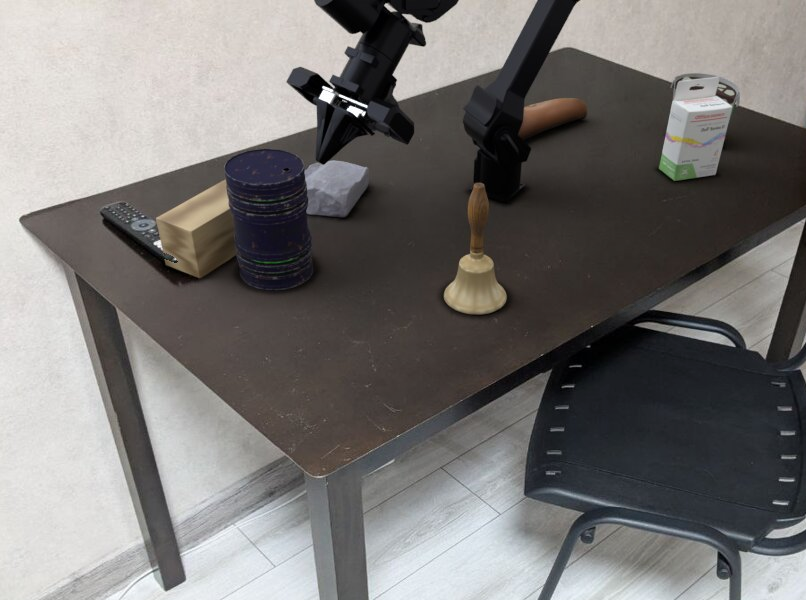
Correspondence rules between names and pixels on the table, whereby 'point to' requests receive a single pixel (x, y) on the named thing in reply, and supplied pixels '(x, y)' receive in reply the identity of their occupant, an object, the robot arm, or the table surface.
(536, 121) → the sunglasses case
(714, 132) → the ink box
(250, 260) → the blue barrel
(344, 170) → the stone block
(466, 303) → the hand bell
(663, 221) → the table surface
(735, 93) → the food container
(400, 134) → the robot arm
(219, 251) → the birch block
